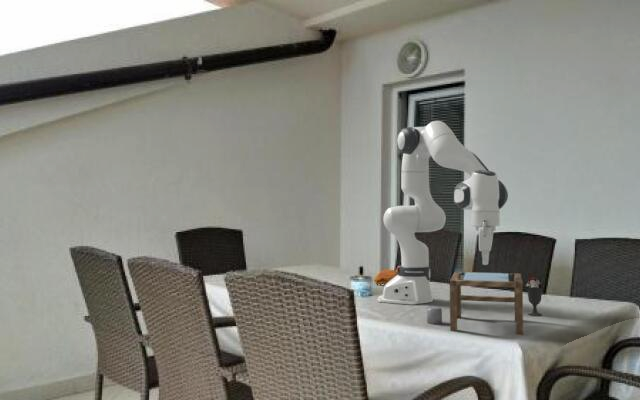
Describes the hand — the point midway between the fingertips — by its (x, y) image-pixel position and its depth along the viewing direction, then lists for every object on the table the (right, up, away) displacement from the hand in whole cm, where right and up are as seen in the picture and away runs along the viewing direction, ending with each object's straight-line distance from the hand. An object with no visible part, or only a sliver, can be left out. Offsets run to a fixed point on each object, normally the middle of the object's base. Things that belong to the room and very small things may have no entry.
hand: (485, 263), depth 192 cm
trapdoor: (+2, -7, +5) cm, 9 cm away
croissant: (-20, -21, +97) cm, 101 cm away
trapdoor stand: (+2, -21, +4) cm, 22 cm away
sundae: (+23, -21, +20) cm, 37 cm away
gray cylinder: (-15, -21, +9) cm, 28 cm away
